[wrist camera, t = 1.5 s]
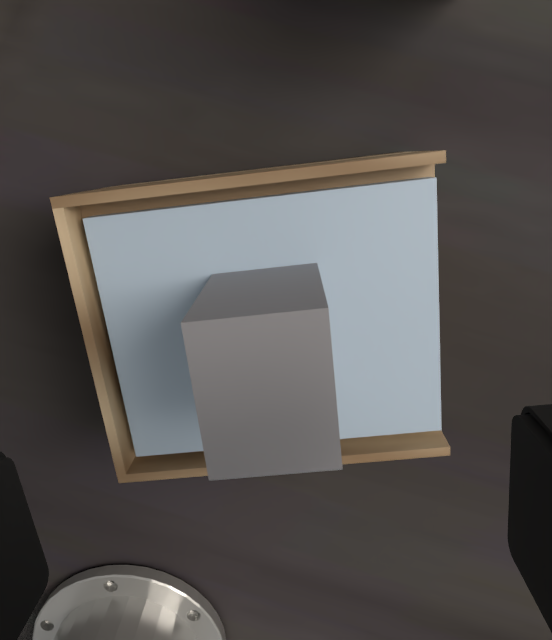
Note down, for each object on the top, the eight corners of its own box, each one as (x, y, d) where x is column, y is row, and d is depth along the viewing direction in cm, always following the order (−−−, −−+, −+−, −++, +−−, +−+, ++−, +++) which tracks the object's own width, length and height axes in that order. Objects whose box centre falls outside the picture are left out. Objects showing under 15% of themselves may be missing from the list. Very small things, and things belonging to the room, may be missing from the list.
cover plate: (435, 418, 22) (496, 530, 16) (142, 444, 23) (82, 561, 16) (429, 176, 19) (503, 187, 13) (92, 215, 20) (-7, 245, 13)
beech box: (409, 379, 28) (450, 455, 21) (160, 402, 29) (118, 483, 22) (400, 151, 25) (445, 150, 18) (116, 185, 26) (49, 197, 18)
